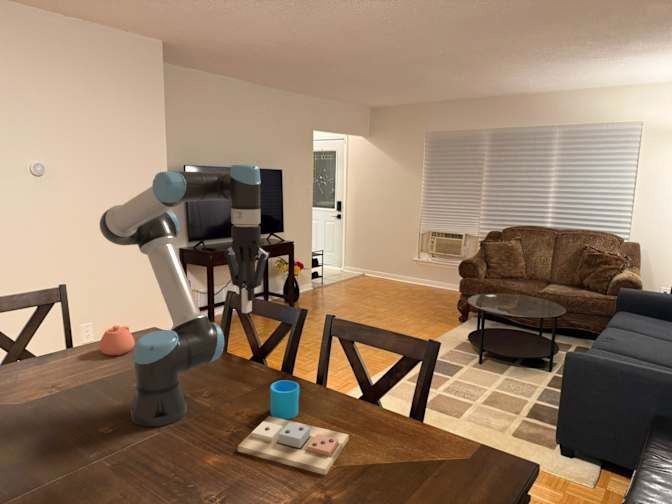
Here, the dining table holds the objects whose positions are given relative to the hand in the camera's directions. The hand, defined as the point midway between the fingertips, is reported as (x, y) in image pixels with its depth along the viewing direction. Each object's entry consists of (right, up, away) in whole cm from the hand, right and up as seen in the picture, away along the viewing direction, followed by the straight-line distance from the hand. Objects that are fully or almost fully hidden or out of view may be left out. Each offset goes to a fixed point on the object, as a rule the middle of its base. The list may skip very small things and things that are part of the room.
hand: (246, 311), depth 127 cm
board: (+13, -34, -5) cm, 37 cm away
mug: (+10, -31, +13) cm, 35 cm away
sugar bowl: (-60, -22, +54) cm, 84 cm away
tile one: (+6, -33, -2) cm, 34 cm away
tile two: (+13, -32, -5) cm, 35 cm away
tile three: (+21, -35, -8) cm, 41 cm away
